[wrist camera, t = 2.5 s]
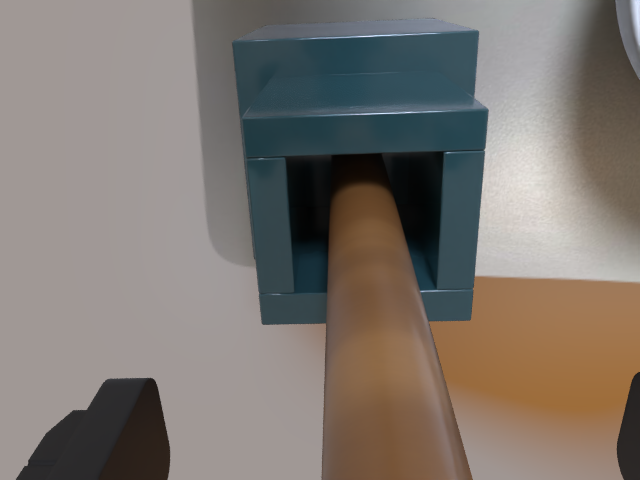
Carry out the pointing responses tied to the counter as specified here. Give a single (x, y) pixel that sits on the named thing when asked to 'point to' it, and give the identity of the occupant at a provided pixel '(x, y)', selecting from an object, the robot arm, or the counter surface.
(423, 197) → the utensil holder
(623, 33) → the serving bowl
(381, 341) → the stick
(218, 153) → the counter surface
